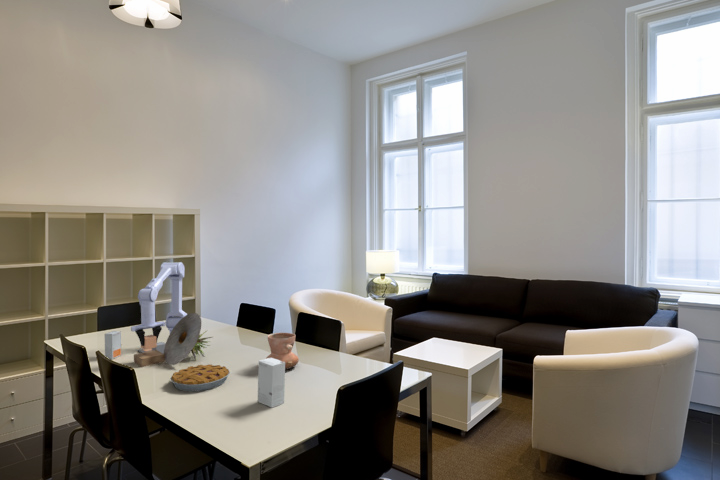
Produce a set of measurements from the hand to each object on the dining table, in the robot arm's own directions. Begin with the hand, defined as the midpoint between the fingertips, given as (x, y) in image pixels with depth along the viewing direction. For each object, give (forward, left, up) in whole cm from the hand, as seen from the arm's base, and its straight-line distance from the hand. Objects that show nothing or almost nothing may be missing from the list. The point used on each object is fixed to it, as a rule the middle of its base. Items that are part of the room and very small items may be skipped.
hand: (148, 344), depth 204 cm
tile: (-7, -18, -8) cm, 21 cm away
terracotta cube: (0, 0, -2) cm, 2 cm away
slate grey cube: (-9, -10, -8) cm, 16 cm away
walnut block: (0, 0, -9) cm, 9 cm away
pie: (-2, +43, -9) cm, 44 cm away
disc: (-14, +10, -9) cm, 19 cm away
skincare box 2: (-8, +81, -8) cm, 82 cm away
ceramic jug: (-35, +52, -8) cm, 63 cm away
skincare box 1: (+8, -21, -8) cm, 24 cm away
